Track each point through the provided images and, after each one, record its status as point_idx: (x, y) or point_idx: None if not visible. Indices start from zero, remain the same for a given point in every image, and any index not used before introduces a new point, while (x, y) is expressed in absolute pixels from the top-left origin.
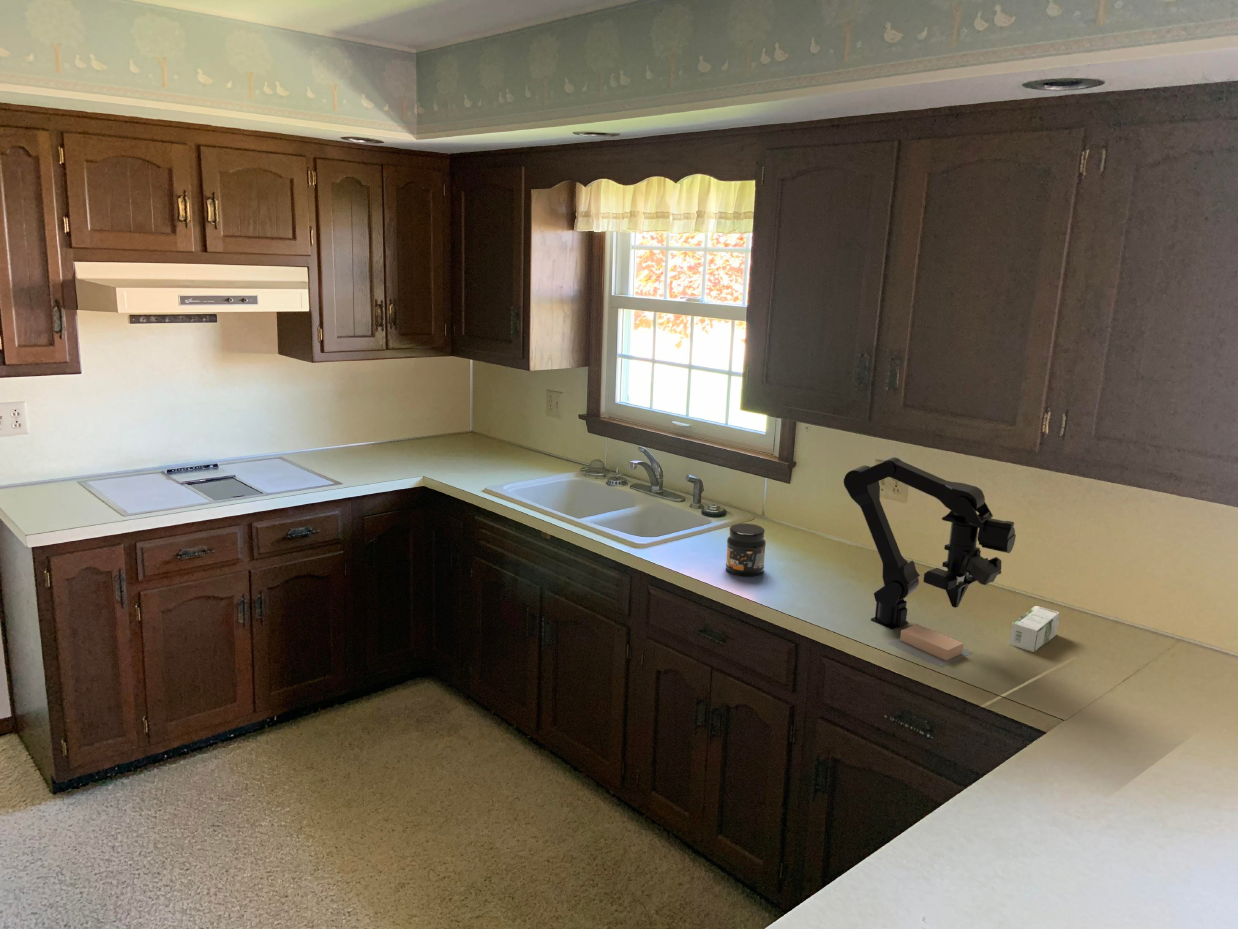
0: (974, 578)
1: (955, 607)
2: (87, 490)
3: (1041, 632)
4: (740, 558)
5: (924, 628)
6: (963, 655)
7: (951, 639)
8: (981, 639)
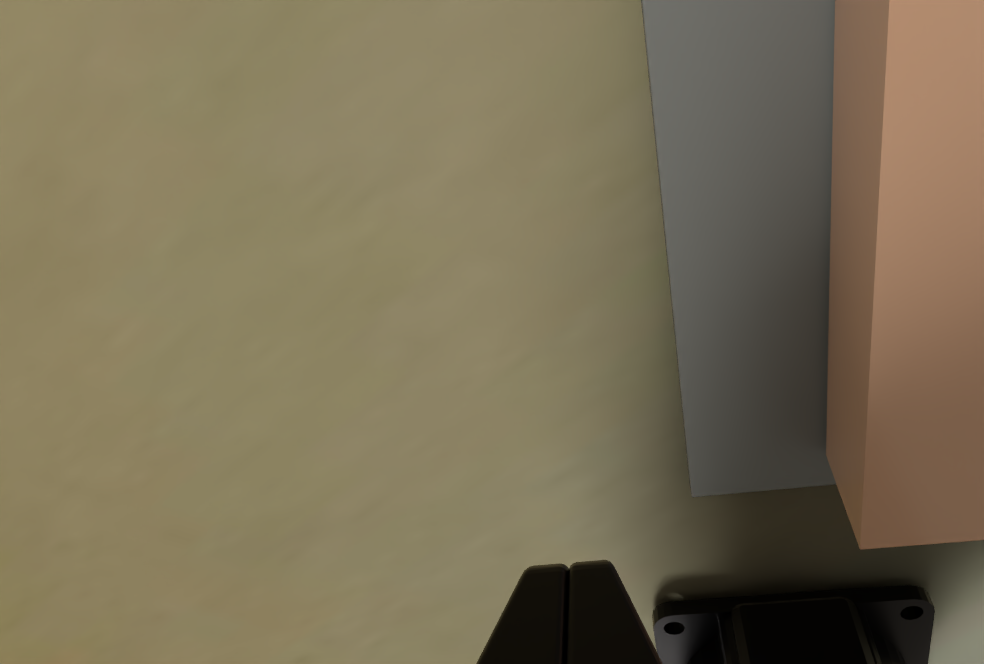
0: None
1: (612, 568)
2: None
3: None
4: None
5: (910, 444)
6: None
7: (934, 24)
8: (136, 72)
